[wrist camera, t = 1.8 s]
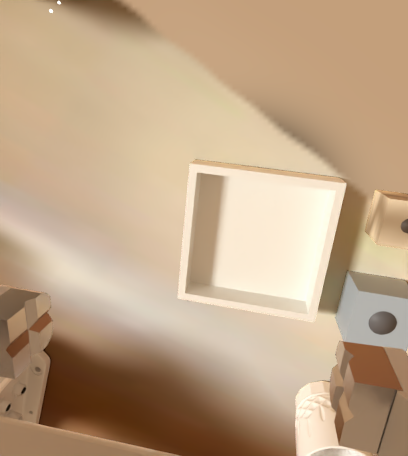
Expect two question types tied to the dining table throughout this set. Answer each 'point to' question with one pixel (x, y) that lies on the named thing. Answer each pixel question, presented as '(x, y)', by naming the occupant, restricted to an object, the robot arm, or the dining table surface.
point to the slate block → (374, 310)
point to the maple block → (388, 219)
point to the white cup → (318, 423)
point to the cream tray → (258, 238)
